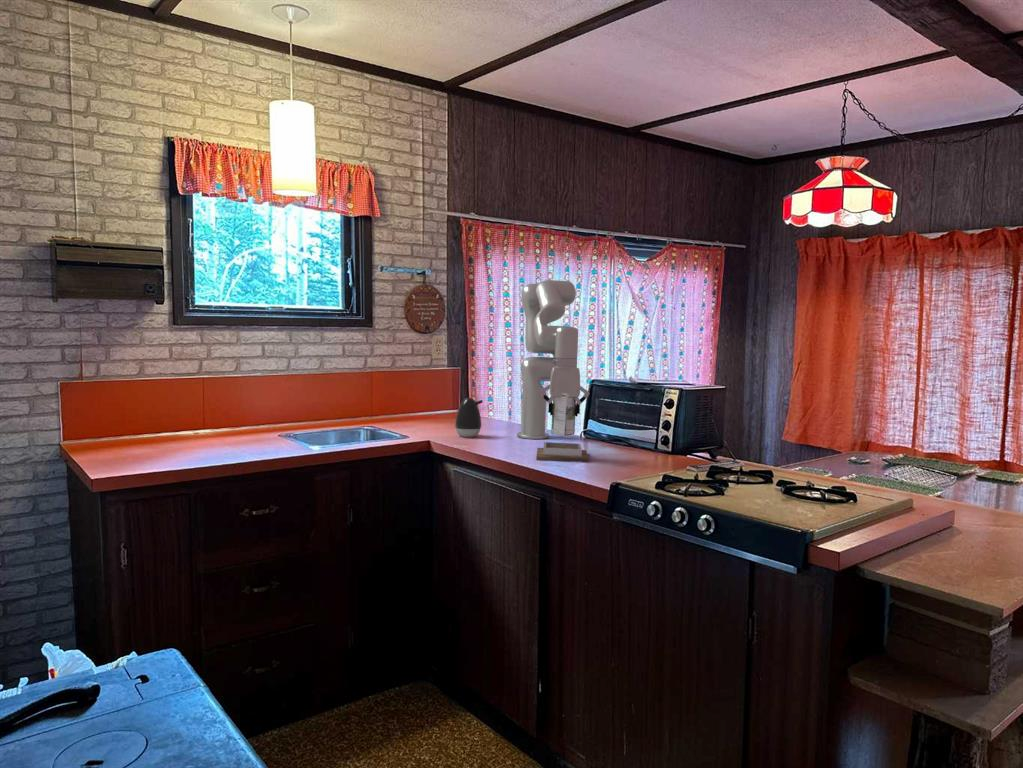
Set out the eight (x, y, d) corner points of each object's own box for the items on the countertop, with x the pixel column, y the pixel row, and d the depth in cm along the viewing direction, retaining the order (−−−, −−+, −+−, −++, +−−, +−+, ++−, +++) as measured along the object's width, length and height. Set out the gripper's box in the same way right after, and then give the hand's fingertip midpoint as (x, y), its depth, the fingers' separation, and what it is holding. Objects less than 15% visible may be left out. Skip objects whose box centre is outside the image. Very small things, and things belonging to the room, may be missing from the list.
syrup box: (560, 432, 254) (562, 390, 253) (575, 434, 251) (576, 392, 249) (550, 434, 250) (552, 391, 249) (565, 436, 246) (566, 392, 245)
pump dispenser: (480, 439, 283) (482, 399, 281) (453, 437, 283) (454, 398, 281) (482, 435, 293) (483, 396, 291) (456, 434, 293) (457, 395, 292)
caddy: (537, 451, 260) (537, 440, 260) (586, 453, 259) (586, 442, 259) (536, 459, 243) (536, 448, 243) (588, 462, 242) (588, 451, 242)
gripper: (539, 363, 245) (537, 415, 246) (592, 365, 244) (590, 417, 246) (540, 362, 253) (538, 413, 254) (591, 364, 252) (589, 415, 253)
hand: (563, 415), depth 250 cm, fingers closed on syrup box, 8 cm apart
